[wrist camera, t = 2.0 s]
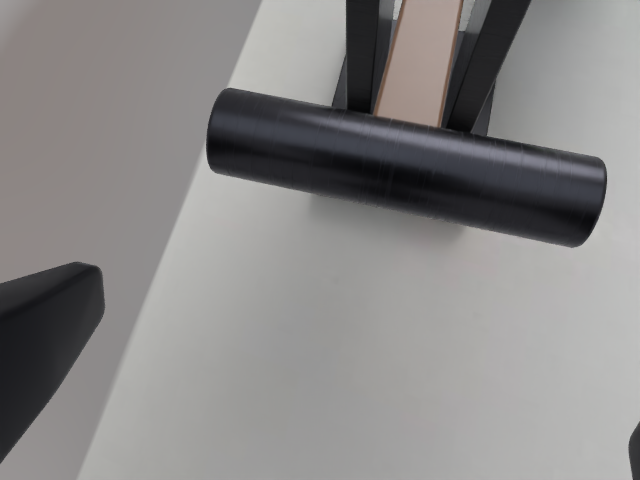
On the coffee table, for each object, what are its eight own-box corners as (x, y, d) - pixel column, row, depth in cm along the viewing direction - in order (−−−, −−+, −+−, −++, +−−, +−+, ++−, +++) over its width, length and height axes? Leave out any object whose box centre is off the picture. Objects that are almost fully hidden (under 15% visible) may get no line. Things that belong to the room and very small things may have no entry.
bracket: (467, 223, 23) (644, -42, 9) (312, 191, 24) (268, -97, 10) (496, 54, 25) (669, -351, 12) (355, 29, 26) (366, -374, 13)
